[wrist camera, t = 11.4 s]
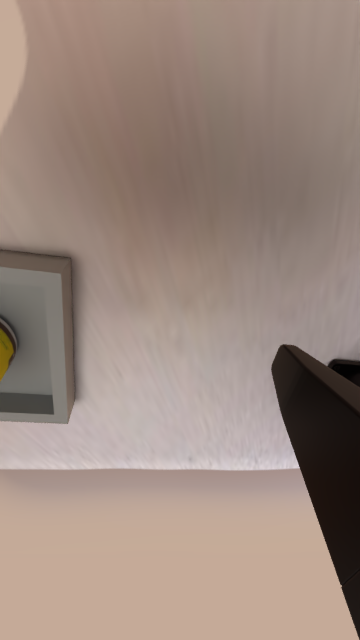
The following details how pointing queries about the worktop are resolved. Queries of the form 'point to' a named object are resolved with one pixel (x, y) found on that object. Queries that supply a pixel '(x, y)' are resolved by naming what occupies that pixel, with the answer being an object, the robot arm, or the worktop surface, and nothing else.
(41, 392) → the tray
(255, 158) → the worktop surface
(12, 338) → the supplement bottle
